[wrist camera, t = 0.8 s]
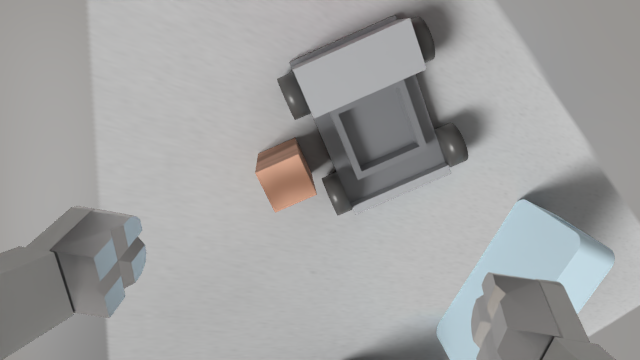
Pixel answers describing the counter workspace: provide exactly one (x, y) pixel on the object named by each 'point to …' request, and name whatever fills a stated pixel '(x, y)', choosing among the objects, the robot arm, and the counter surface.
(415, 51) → the chassis
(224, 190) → the counter surface
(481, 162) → the counter surface
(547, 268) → the light blue box
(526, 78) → the counter surface
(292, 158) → the brown rectangular block
